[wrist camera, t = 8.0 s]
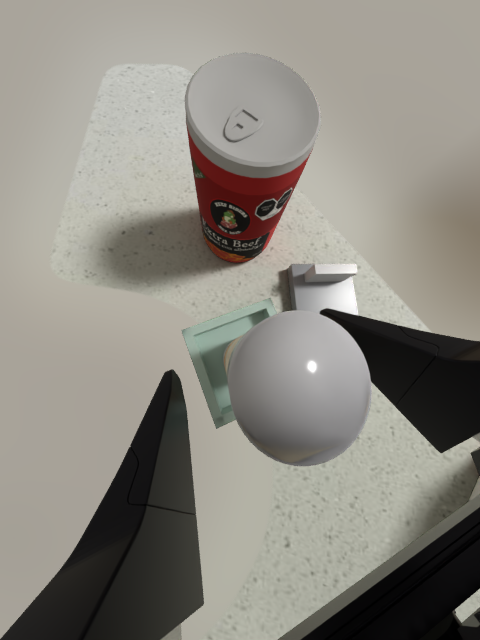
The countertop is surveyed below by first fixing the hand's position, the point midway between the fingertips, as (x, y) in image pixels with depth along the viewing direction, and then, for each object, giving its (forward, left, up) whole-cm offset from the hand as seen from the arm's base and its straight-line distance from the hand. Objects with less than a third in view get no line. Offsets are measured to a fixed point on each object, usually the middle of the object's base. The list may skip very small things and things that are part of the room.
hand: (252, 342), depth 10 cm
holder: (+3, -10, -9) cm, 14 cm away
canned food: (+13, -2, -9) cm, 16 cm away
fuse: (-1, 0, -8) cm, 8 cm away
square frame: (-1, 0, -9) cm, 9 cm away
